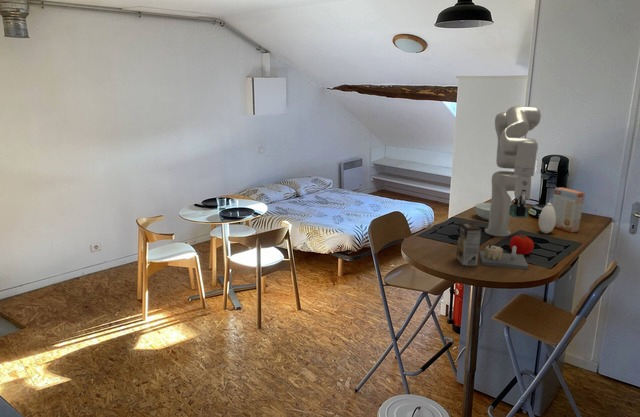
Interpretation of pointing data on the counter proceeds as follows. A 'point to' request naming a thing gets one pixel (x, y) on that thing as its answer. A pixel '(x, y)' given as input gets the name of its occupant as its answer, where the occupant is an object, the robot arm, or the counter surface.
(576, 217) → the cracker box
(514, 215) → the teal gear
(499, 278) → the counter surface
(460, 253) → the brown printed box
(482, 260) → the gear board
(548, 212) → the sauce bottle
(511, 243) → the tomato
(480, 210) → the cereal bowl
